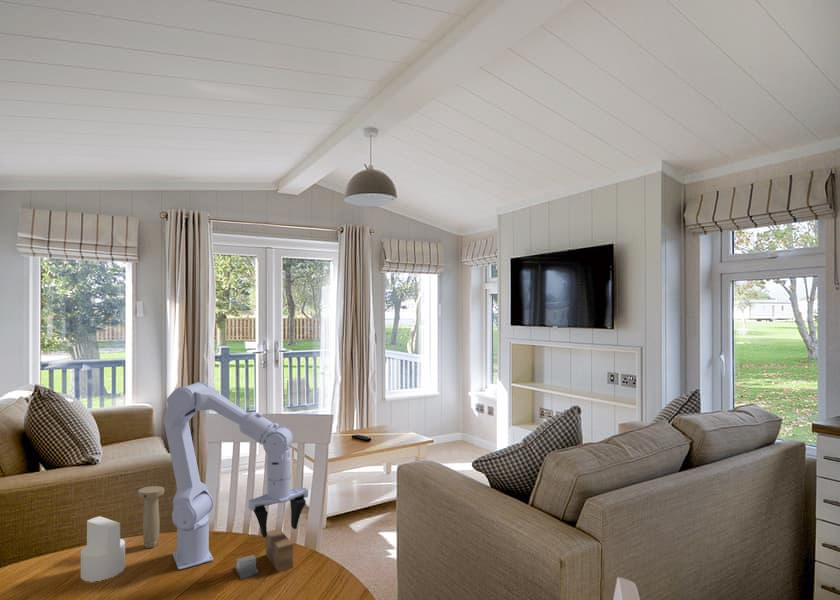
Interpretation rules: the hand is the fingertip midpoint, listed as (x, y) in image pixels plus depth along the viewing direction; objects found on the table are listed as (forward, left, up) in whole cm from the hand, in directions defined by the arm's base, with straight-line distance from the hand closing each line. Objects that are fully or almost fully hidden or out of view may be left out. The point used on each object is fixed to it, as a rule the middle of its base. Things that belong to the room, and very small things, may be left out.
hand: (279, 531), depth 123 cm
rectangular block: (0, 0, -8) cm, 8 cm away
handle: (-28, -26, -8) cm, 38 cm away
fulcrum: (0, -8, -7) cm, 11 cm away
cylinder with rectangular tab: (-20, -37, -8) cm, 42 cm away
